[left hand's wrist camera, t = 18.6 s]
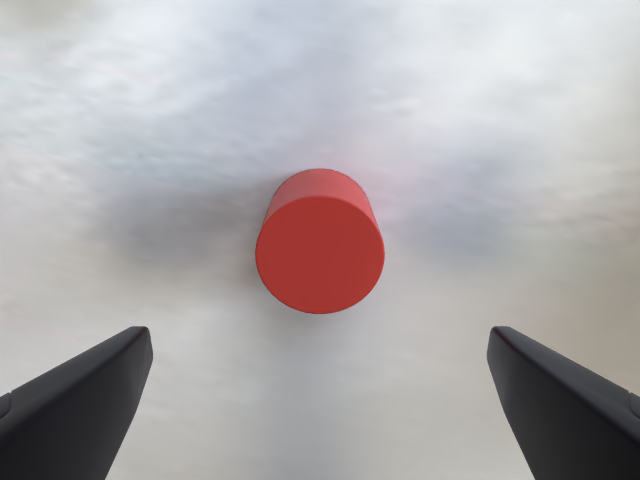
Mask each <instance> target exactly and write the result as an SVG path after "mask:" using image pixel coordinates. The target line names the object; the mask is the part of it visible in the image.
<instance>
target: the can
mask: <svg viewBox="0 0 640 480" xmlns="http://www.w3.org/2000/svg"><path fill="white" fill-rule="evenodd" d="M255 256H256V265H257V269H258V272H259V275H260V277H261V279H262V281H263V283H264V285H265V286H266V288H267V289H268V290H269V291H270V292H271V294H272V295H273V296H275V297H276V298H277V299H278V300H279V301H281V302H282V303H284V304H285V305H287V306H289V307H291V308H293V309H296V310H299V311H302V312H306V313H313V314H327V313H334V312H338V311H341V310H344V309H347V308H349V307H351V306H353V305H355V304H356V303H358V302H359V301H361V300H362V299H363V298H364V297H366V296H367V295H368V294H369V292H370V291H371V290H372V289H373V288H374V286H375V285H376V283H377V281H378V279H379V277H380V275H381V272H382V270H383V265H384V257H385V251H384V244H383V239H382V236H381V233H380V231H379V228H378V225H377V222H376V220H375V217H374V214H373V211H372V209H371V206H370V203H369V201H368V198H367V196H366V194H365V193H364V191H363V190H362V188H361V187H360V186H359V185H358V184H357V183H356V182H355V181H354V180H352V179H351V178H350V177H348V176H346V175H344V174H342V173H340V172H337V171H334V170H329V169H311V170H307V171H303V172H300V173H298V174H296V175H294V176H292V177H290V178H289V179H288V180H286V181H285V182H284V183H283V184H282V185H281V186H280V187H279V189H278V190H277V191H276V193H275V194H274V196H273V198H272V201H271V203H270V206H269V209H268V211H267V214H266V217H265V220H264V222H263V225H262V228H261V231H260V233H259V236H258V239H257V244H256V251H255Z"/></svg>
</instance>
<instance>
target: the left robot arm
mask: <svg viewBox="0 0 640 480" xmlns="http://www.w3.org/2000/svg"><path fill="white" fill-rule="evenodd" d="M152 361H153V350H152V344H151V338H150V332H149V329H148V328H147V327H145V326H133V327H130V328H128V329H126V330H124V331H122V332H120V333H118V334H117V335H115V336H113V337H111V338H109V339H107V340H105V341H104V342H102V343H100V344H98V345H96V346H94V347H92V348H91V349H89V350H87V351H85V352H83V353H81V354H79V355H78V356H76V357H74V358H72V359H70V360H68V361H66V362H65V363H63V364H61V365H59V366H57V367H55V368H53V369H52V370H50V371H48V372H46V373H44V374H42V375H40V376H39V377H37V378H35V379H33V380H31V381H29V382H27V383H26V384H24V385H22V386H20V387H18V388H16V389H14V390H13V391H11V393H7V394H5V395H3V396H1V397H0V480H105V478H106V476H107V474H108V472H109V470H110V468H111V465H112V463H113V461H114V459H115V457H116V454H117V452H118V450H119V448H120V446H121V444H122V441H123V439H124V437H125V435H126V433H127V431H128V428H129V426H130V424H131V422H132V420H133V417H134V415H135V413H136V410H137V407H138V404H139V401H140V398H141V395H142V392H143V389H144V386H145V383H146V380H147V377H148V374H149V371H150V368H151V365H152ZM487 361H488V365H489V368H490V371H491V374H492V377H493V380H494V383H495V386H496V389H497V392H498V395H499V398H500V401H501V404H502V407H503V410H504V413H505V415H506V417H507V420H508V422H509V424H510V426H511V428H512V431H513V433H514V435H515V437H516V439H517V441H518V444H519V446H520V448H521V450H522V452H523V454H524V457H525V459H526V461H527V463H528V465H529V468H530V470H531V472H532V474H533V476H534V478H535V480H640V397H639V396H637V395H635V394H633V393H629V391H627V390H626V389H624V388H622V387H620V386H618V385H616V384H614V383H613V382H611V381H609V380H607V379H605V378H603V377H601V376H600V375H598V374H596V373H594V372H592V371H590V370H588V369H587V368H585V367H583V366H581V365H579V364H577V363H575V362H574V361H572V360H570V359H568V358H566V357H564V356H562V355H561V354H559V353H557V352H555V351H553V350H551V349H549V348H548V347H546V346H544V345H542V344H540V343H538V342H536V341H535V340H533V339H531V338H529V337H527V336H525V335H523V334H522V333H520V332H518V331H516V330H514V329H512V328H510V327H507V326H495V327H493V328H492V329H491V332H490V338H489V344H488V350H487Z"/></svg>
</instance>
